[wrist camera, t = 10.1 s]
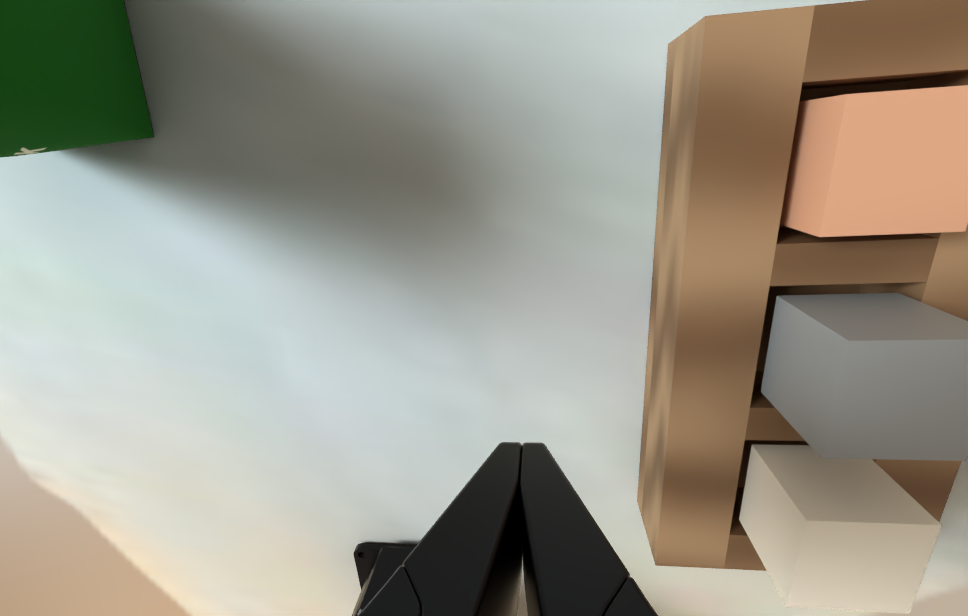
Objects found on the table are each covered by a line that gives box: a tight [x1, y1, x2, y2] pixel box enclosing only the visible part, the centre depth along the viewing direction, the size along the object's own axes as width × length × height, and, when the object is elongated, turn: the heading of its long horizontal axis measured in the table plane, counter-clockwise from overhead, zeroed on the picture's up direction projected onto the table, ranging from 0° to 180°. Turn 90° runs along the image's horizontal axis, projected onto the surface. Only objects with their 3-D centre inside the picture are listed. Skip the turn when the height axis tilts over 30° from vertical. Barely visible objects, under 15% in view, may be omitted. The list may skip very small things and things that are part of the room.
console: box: [637, 0, 968, 571], centre depth 18 cm, size 22×11×4 cm, turn 4°
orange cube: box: [780, 85, 968, 237], centre depth 15 cm, size 4×4×4 cm
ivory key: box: [739, 444, 942, 614], centre depth 17 cm, size 4×4×4 cm
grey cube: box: [761, 293, 968, 461], centre depth 15 cm, size 4×4×4 cm
